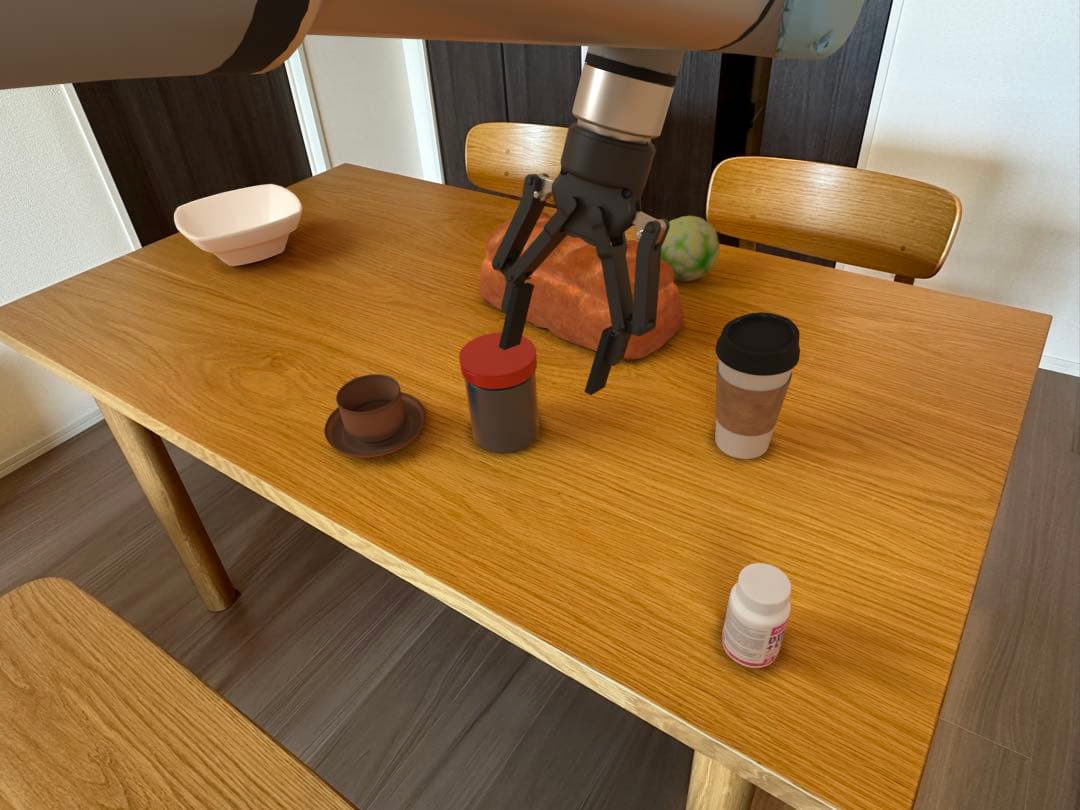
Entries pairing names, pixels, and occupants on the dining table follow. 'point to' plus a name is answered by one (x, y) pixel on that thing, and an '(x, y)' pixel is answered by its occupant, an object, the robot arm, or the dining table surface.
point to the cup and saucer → (373, 417)
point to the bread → (581, 293)
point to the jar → (504, 416)
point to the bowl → (241, 223)
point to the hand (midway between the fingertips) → (550, 367)
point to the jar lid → (497, 362)
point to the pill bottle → (757, 615)
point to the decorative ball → (690, 248)
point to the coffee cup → (752, 380)
